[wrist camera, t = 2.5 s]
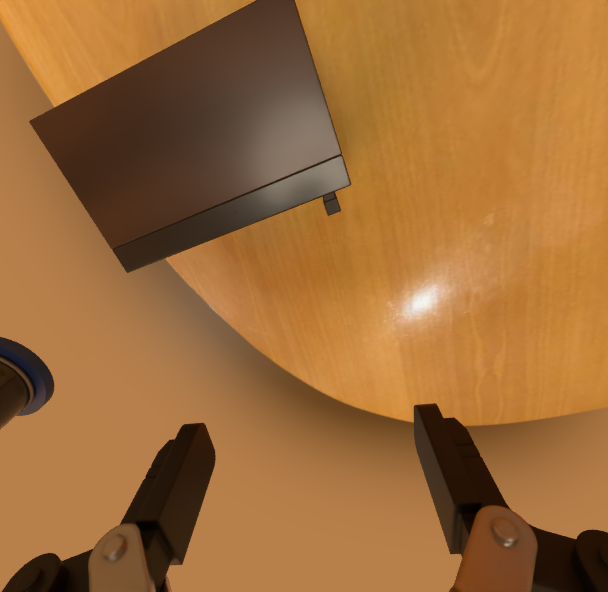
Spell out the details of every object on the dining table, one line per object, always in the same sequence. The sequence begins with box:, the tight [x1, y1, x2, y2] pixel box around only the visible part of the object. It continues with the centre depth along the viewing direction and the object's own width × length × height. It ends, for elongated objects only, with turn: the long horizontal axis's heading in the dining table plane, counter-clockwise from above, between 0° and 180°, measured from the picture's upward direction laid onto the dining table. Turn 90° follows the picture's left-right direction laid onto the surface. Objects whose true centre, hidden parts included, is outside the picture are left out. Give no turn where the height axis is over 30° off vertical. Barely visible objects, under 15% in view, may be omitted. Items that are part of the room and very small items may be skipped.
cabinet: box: [29, 0, 351, 273], centre depth 24 cm, size 10×16×12 cm, turn 111°
